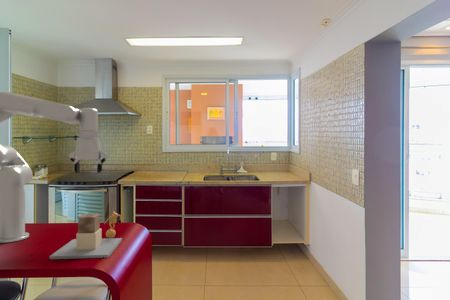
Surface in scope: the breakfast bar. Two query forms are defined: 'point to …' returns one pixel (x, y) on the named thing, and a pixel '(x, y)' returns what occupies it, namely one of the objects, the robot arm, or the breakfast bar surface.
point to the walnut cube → (88, 223)
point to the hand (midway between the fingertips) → (88, 172)
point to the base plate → (87, 253)
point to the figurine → (111, 232)
